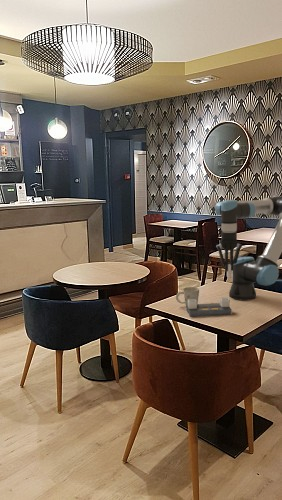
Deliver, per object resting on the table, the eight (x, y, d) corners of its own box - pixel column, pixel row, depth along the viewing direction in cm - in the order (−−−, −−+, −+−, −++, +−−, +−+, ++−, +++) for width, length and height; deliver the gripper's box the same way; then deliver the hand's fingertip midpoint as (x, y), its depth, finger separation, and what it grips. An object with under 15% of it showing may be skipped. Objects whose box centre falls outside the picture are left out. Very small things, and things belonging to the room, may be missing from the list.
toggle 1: (195, 305, 205) (195, 298, 204) (196, 308, 201) (196, 301, 200) (187, 306, 204) (187, 299, 204) (189, 308, 200) (188, 301, 200)
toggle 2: (227, 304, 206) (227, 297, 205) (229, 306, 202) (229, 299, 201) (219, 304, 205) (219, 297, 205) (221, 307, 201) (222, 300, 201)
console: (226, 308, 209) (226, 302, 209) (231, 314, 199) (231, 308, 199) (186, 310, 208) (186, 304, 207) (189, 316, 198) (189, 310, 197)
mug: (198, 309, 208) (198, 291, 206) (175, 308, 210) (174, 290, 209) (199, 304, 216) (199, 287, 214) (176, 303, 218) (176, 286, 217)
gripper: (239, 229, 201) (239, 274, 205) (214, 230, 200) (214, 275, 205) (244, 231, 193) (243, 278, 198) (217, 233, 193) (217, 279, 198)
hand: (228, 277), depth 201 cm, fingers closed
